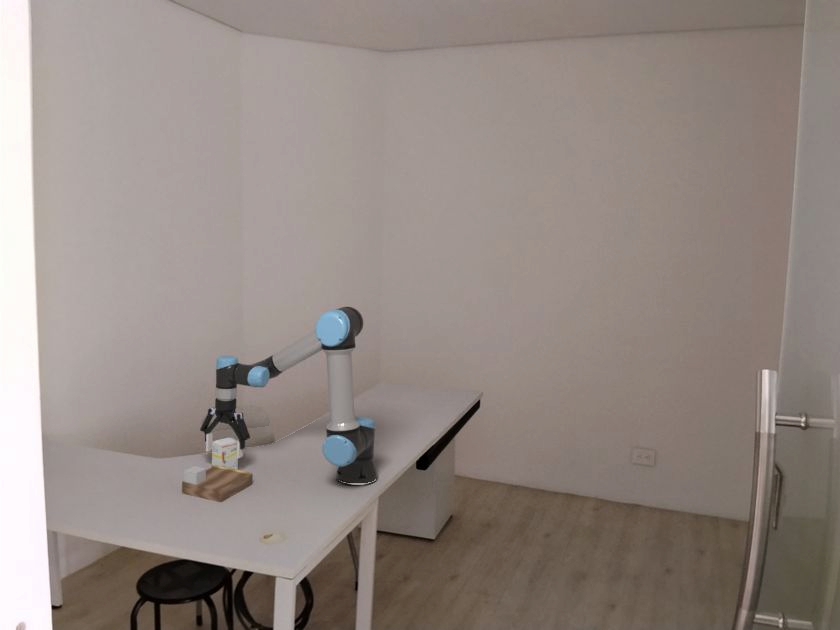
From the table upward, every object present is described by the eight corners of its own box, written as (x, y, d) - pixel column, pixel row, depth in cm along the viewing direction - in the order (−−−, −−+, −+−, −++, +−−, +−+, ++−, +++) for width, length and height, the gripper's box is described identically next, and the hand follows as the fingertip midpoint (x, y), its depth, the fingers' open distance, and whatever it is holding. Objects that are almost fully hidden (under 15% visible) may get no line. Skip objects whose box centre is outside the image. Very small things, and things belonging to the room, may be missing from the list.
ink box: (219, 475, 264) (219, 444, 262) (211, 472, 267) (211, 441, 265) (238, 470, 270) (239, 439, 269) (230, 466, 273) (231, 436, 272)
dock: (252, 484, 257) (252, 473, 257) (221, 502, 241) (221, 490, 240) (214, 476, 263) (215, 465, 262) (182, 493, 246) (182, 481, 246)
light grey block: (205, 479, 249) (205, 468, 248) (196, 484, 244) (196, 473, 244) (193, 477, 251) (193, 466, 250) (184, 481, 246) (184, 470, 245)
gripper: (260, 401, 264) (258, 456, 267) (204, 390, 272) (203, 444, 275) (248, 405, 257) (247, 463, 260) (191, 395, 265) (190, 450, 268)
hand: (224, 453), depth 268 cm, fingers open, 13 cm apart
